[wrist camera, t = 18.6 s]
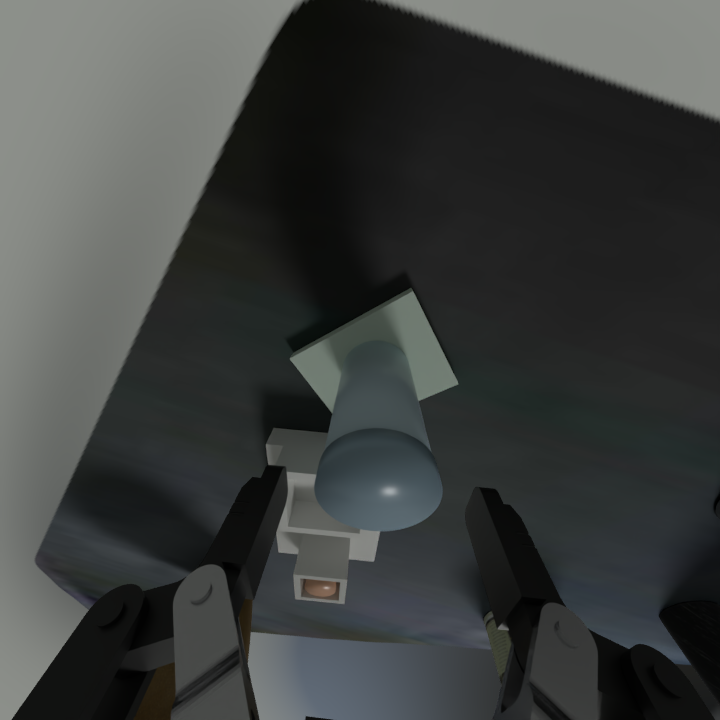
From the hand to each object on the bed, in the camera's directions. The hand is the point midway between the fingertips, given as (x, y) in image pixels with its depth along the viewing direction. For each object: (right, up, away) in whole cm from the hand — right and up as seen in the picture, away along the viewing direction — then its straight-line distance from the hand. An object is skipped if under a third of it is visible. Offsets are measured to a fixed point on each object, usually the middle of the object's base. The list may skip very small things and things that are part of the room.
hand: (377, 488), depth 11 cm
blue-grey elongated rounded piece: (0, +5, +8) cm, 10 cm away
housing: (-4, -9, +17) cm, 19 cm away
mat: (0, +5, +9) cm, 11 cm away
